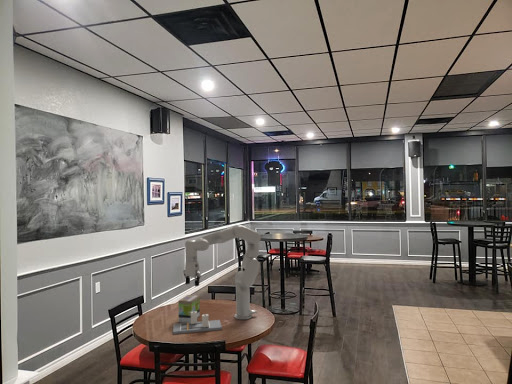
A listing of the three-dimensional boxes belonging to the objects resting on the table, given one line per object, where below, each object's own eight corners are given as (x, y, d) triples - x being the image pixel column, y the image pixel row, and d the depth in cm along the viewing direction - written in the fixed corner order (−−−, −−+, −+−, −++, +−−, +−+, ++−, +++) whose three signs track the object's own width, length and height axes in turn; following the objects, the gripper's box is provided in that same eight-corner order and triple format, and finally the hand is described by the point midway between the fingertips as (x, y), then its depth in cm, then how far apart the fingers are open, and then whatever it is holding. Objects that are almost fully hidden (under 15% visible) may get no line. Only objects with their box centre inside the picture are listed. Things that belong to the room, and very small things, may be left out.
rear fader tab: (197, 321, 230) (196, 310, 231) (197, 323, 227) (197, 312, 228) (190, 322, 230) (190, 311, 230) (191, 324, 227) (190, 312, 227)
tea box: (192, 323, 234) (191, 301, 234) (178, 322, 236) (177, 300, 236) (200, 315, 249) (199, 295, 249) (186, 315, 251) (186, 294, 251)
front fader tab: (208, 325, 224) (208, 313, 224) (208, 326, 221) (208, 314, 221) (202, 325, 223) (201, 314, 223) (202, 327, 220) (202, 315, 220)
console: (219, 322, 235) (219, 319, 235) (221, 329, 221) (221, 326, 221) (173, 326, 229) (173, 323, 229) (172, 334, 215) (172, 331, 215)
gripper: (204, 259, 229) (205, 285, 228) (187, 257, 240) (188, 282, 240) (195, 261, 223) (196, 288, 223) (178, 258, 234) (179, 284, 234)
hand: (192, 284), depth 231 cm, fingers open, 9 cm apart
